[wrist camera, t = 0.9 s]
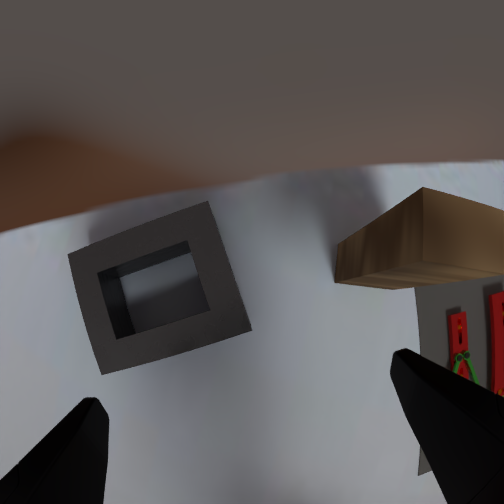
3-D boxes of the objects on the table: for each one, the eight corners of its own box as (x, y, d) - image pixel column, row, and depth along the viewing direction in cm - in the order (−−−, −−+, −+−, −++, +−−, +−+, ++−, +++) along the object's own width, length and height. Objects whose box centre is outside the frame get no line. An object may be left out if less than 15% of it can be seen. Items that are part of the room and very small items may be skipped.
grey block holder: (251, 325, 23) (252, 330, 19) (122, 364, 22) (101, 375, 18) (213, 217, 24) (207, 200, 20) (92, 261, 24) (67, 254, 20)
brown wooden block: (392, 289, 24) (506, 274, 11) (334, 282, 24) (422, 260, 11) (395, 252, 24) (504, 210, 11) (338, 244, 24) (422, 187, 11)
